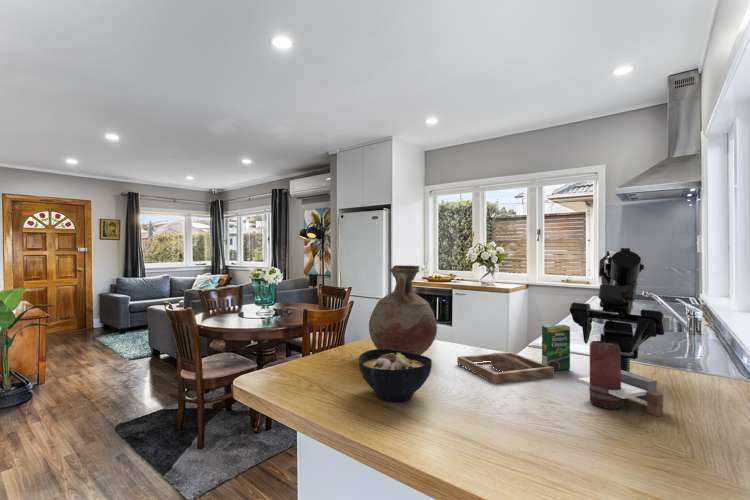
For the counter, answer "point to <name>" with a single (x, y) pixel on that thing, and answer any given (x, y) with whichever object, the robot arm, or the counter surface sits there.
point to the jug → (403, 317)
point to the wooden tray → (500, 377)
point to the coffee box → (556, 346)
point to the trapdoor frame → (654, 403)
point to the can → (605, 373)
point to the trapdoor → (630, 386)
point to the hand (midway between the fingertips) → (607, 346)
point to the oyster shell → (507, 363)
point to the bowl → (394, 373)
